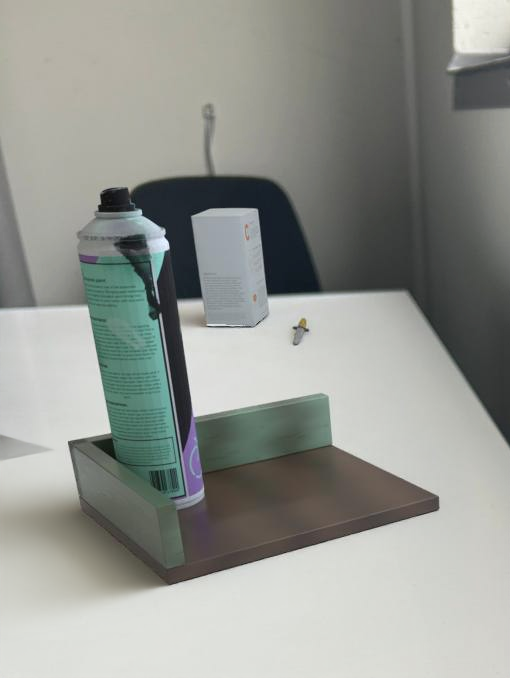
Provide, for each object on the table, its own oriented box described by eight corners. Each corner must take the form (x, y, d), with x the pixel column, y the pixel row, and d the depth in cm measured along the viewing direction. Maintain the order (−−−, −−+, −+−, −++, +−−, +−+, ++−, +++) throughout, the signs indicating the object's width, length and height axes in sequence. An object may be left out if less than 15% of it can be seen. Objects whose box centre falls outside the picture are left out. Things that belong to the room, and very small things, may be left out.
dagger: (304, 342, 118) (287, 338, 117) (304, 349, 118) (286, 346, 118) (312, 318, 127) (296, 315, 126) (311, 325, 127) (295, 322, 127)
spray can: (221, 494, 72) (179, 186, 63) (160, 518, 68) (105, 193, 59) (169, 480, 75) (121, 182, 65) (107, 502, 71) (47, 189, 61)
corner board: (169, 584, 62) (156, 507, 59) (81, 509, 73) (67, 441, 70) (439, 509, 72) (437, 440, 70) (326, 453, 83) (321, 392, 81)
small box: (222, 314, 134) (209, 207, 128) (270, 314, 134) (259, 207, 128) (204, 327, 127) (189, 215, 121) (254, 327, 127) (242, 215, 121)
